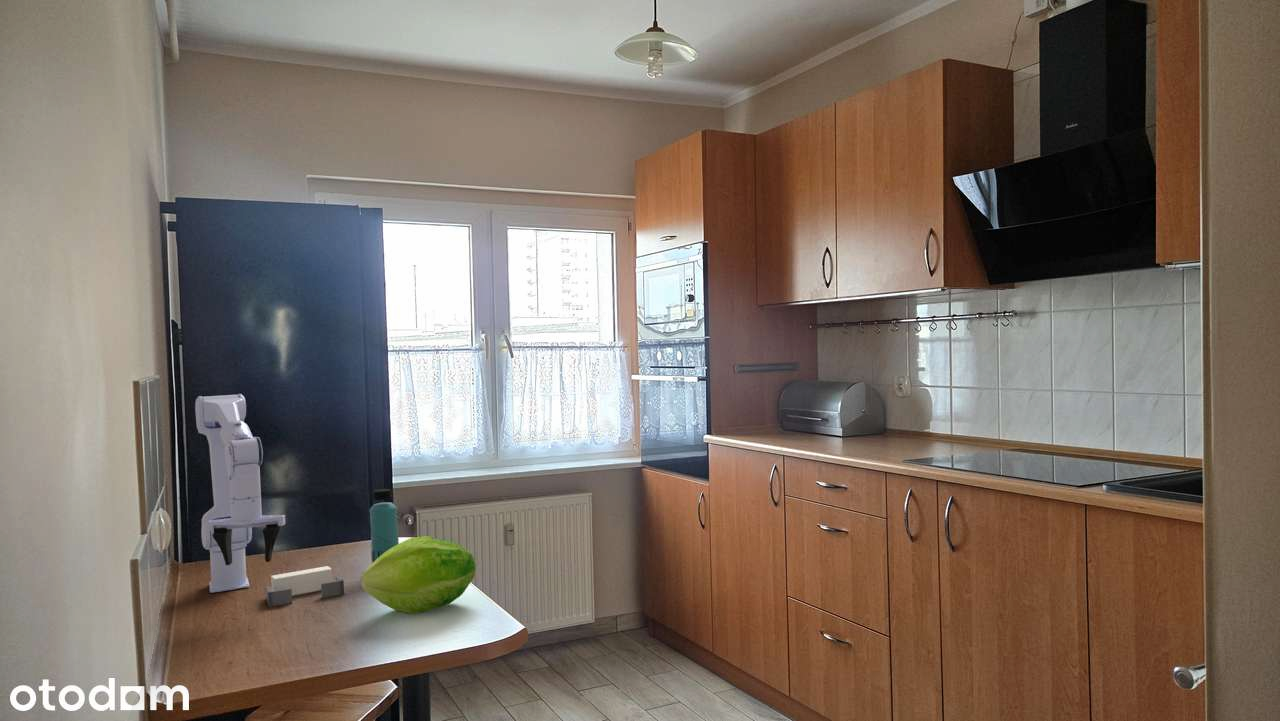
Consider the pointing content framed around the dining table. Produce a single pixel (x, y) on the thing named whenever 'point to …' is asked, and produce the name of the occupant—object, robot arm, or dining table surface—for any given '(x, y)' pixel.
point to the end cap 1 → (278, 596)
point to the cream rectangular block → (302, 580)
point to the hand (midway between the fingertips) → (248, 562)
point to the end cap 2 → (333, 587)
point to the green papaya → (419, 574)
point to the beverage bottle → (383, 524)
